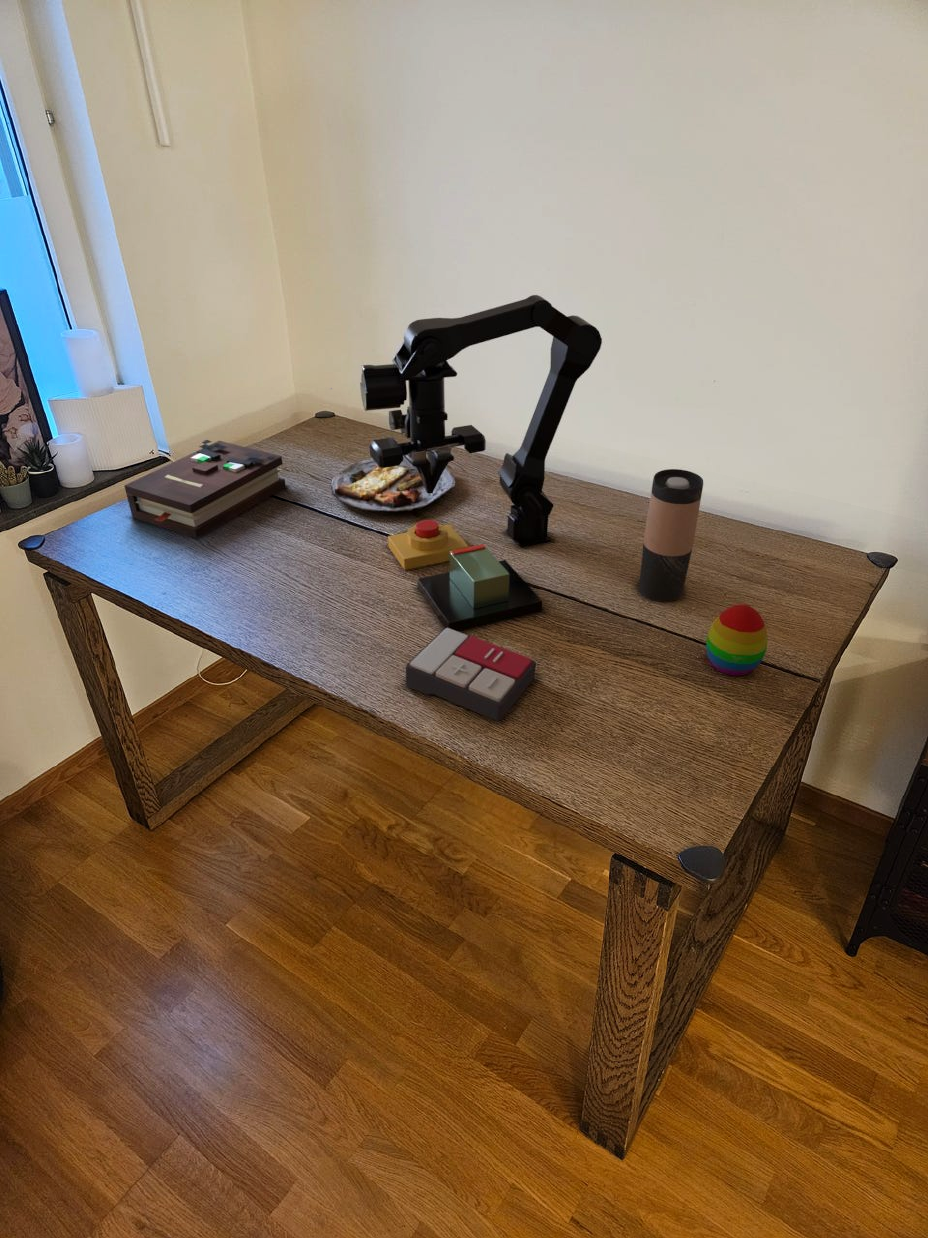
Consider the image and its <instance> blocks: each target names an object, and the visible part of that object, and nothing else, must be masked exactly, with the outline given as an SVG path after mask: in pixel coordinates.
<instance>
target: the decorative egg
mask: <svg viewBox="0 0 928 1238" xmlns="http://www.w3.org/2000/svg"><path fill="white" fill-rule="evenodd" d="M705 643H706V644H705V648H706V654H707V657H708V659H709V662H710V663H711V664H712V666H713V667H714V668H715V669H716V670H717V671H718V672H720V673H722V674H726V675H729V676H734V677H735V676H736V677H737V676H738V677H739V676H744V675H748V674H749V673H751V672H752V671H754V670H755V669H757V667H758V666H759V665H760V664H761V663H762V661H763V659H764V657H765V655H766V653H767V649H768V631H767V627H766V624H765V621H764V619H763V617H762V616H761V614H760V613H759V612H758V611H757V610H756V609H755V608H754V607H752V606H750V605H749V604H741V603H740V604H734V605H732V606H729V607H728V608H727V609H725V610H723V611H722V612H721V613H719V615H718V616H717V617H716V618H715V619H714V620H713V622H712V624H711V626H710V627H709V629H708V633H707V636H706V641H705Z"/></svg>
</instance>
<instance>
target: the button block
mask: <svg viewBox="0 0 928 1238" xmlns="http://www.w3.org/2000/svg"><path fill="white" fill-rule="evenodd" d="M387 546H388V548H389V550H390V551H391V552H392V554H393V555H394V557H395V558H396V560H397V561H398V562H399V564H400V566H401V567H402V569H403V570H404V571H406V570H413V569H417V568H421V567H426V566H431V565H435V564H441V563H445V562H450V552H451V551H452V550H457V549H462V548H467V547H470V546H469V545H468V543H467V542H466V541H465V540H464V538H462V536H461V535H460V534H459V533H458V532H457V531H456V529H454V527H453V526H452V525H451V524H450V523H448V524H443V525H441V524H439V535H438V536H436V537H433V538H420V537H418V536H417V535H416V524H415V525H413V526H411V527H409V528H408V531H406V532H402V533H396V534H390V535H388V536H387Z"/></svg>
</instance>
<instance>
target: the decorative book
mask: <svg viewBox="0 0 928 1238" xmlns="http://www.w3.org/2000/svg"><path fill="white" fill-rule="evenodd" d="M200 443H201V444H202V445H199V446H198V447H199V448H201V449H198V450H196V451H194V452H192V453H189V454H188V455H186V456H184V457H182V458H179V459H177V460H175V461H172V462H171V463H169V464H166V465H164V466H162V467H160V468H158V469H156V470H153V471H152V472H150V473H147V474H145V475H143V476H141V477H139V478H137V479H135V480H133V481H130V482H129V483H126V484H124V486H123V487H124V491H125V494H126V498H127V502H128V506H129V509H130V514H131V517H132V518H133V519H136V520H139V521H142V522H145V523H148V524H151V525H155V526H158V527H161V528H164V529H167V530H170V531H174V532H176V533H180V534H183V535H186V536H189V537H192V538H195V539H199V538H200V537H202V536H203V535H205V534H206V533H209V532H210V531H212V530H214V529H215V528H217V527H219V526H221V525H222V524H224V523H226V522H227V521H229V520H231V519H233V518H234V517H236V516H238V515H240V514H241V513H243V512H245V511H246V510H248V509H250V508H252V507H254V506H255V505H257V504H258V503H261V502H262V501H263V500H265V499H267V498H269V497H271V496H273V495H274V494H276V493H278V492H279V491H281V490H283V489H284V488H286V486H287V485H286V479H285V478H281V477H279V472H281V471H283V468H280V466H282V465H283V464H284V463H283V456H281V455H278V454H274V453H270V452H267V451H262V450H259V449H255V448H251V447H247V446H243V445H238V444H234V443H230V442H226V441H222V440H217V441H215V442H213V443H212V440H208V439H205V440H202V441H200ZM208 444H209V445H208Z"/></svg>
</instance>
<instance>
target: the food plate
mask: <svg viewBox="0 0 928 1238" xmlns="http://www.w3.org/2000/svg"><path fill="white" fill-rule="evenodd" d="M455 485H456V479H455V476H454V475H453V474H452V473H451V472H450V471H449V469H448V468H447V467H446V468H445V470H444V471H443V473H442V475H441V477H440V479H439V481H438V483H437V485H436V487H435V489H434V491H433V493H431V494H428V493H427V492H426V490H425V487H424V485H423V482H422V480H421V477H420V475H419V472H418V470H417V468H416V467H414V466H412V465H411V464H410V462H409V461H408V460H407V459H406V458H405V457H404V455H403V461H402V462H401V464H400V465H399V466H393V467H387V468H381V467H379V466H378V465H377V463H376V462H375V461H374V460H373V459H372V458H371V459H370V458H369V459H366V460H360V461H357V462H355V463H353V464H351V465H349V466H348V467H347V468H345V469H344V470H342V471H341V472H339V473H338V474H337V475H335V476H334V477H333V478H332V480H331V481H330V488H331V494H332V496H334V497H335V498H336V499H337V501H340V502H341V503H343V504H346V505H348V506H350V507H353V508H356V509H358V510H361V511H367V512H387V513H396V512H397V513H400V512H404V514H405V513H406V512H411V511H413V510H414V509H417V510H420V509H423V508H424V507H426V506H428V505H430V504H431V503H433V502H434V501H436V500H438V499H440V498H441V496H443V495H444V494H446V493H447V492H448V491H449V490H450V489H451V488H455Z"/></svg>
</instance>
